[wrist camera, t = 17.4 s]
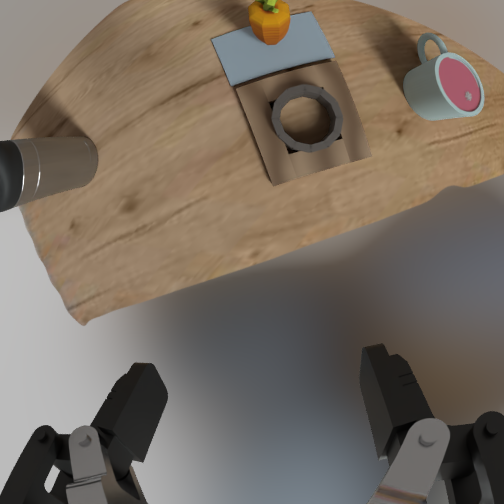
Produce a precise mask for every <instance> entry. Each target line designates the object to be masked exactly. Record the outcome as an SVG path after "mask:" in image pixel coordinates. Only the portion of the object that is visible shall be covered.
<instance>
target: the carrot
mask: <svg viewBox="0 0 504 504" xmlns="http://www.w3.org/2000/svg"><path fill="white" fill-rule="evenodd" d="M248 11H249V21H250V25H251V28H252V30H253V33H254V34H255V35H256V37H257V38H258V39H259V40H261V41H262V42H264V43H265V44H266V45H276V44H277V43H278V42H280V41H281V40H282V39H283V38H284V37H285V35H286V34H287V32H288V29H289V25H290V19H291V18H290V11H289V5H288V4H287V3H285V2H283V1H282V0H255V2H253V3H252V4H251V5H250V6H249V7H248Z"/></svg>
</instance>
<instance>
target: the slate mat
mask: <svg viewBox="0 0 504 504" xmlns="http://www.w3.org/2000/svg"><path fill="white" fill-rule="evenodd" d="M290 18H291V19H290V25H289V29H288V32H287V34H286V35H285V37H284V38H283V39H282V40H281V41H280V42H278V43H277V44H276V45H266V44H265V43H264V42H262V41H261V40H259V39H258V38H257V37H256V35H255V34H254V33H253V30H252V28H251V26H248V27H245V28H242V29H239V30H236V31H233V32H230V33H227V34H224V35H222V36H219V37H216V38H214V39H211V40H212V42H213V45H214V47H215V49H216V52H217V54H218V56H219V58H220V61H221V63H222V65H223V68H224V70H225V73H226V75H227V77H228V80H229V82H230V85H231V87H232V86H234V85H237V84H240V83H243V82H245V81H248V80H251V79H254V78H257V77H260V76H264V75H267V74H270V73H273V72H277V71H280V70H284V69H287V68H291V67H295V66H299V65H303V64H307V63H311V62H315V61H320V60H325V59H330V58H335V56H334V53H333V51H332V49H331V47H330V45H329V43H328V41H327V39H326V38H325V36H324V34H323V32H322V30H321V28H320V26H319V24H318V23H317V21H316V19H315V17H314V16H313V14H312V12H306V13H301V14H296V15H291V16H290Z"/></svg>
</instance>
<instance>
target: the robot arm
mask: <svg viewBox="0 0 504 504" xmlns="http://www.w3.org/2000/svg"><path fill="white" fill-rule="evenodd" d="M97 165H98V155H97V150H96V148H95V145H94V144H93V142H92V141H91V140H90V139H88V138H86V137H81V136H76V137H43V138H28V139H18V140H7V141H0V212H3V211H6V210H9V209H11V208H14V207H17V206H20V205H23V204H26V203H28V202H31V201H34V200H37V199H41V198H44V197H47V196H50V195H54V194H57V193H61V192H64V191H68V190H72V189H75V188H79V187H83V186H85V185H87V184H88V183H89V182H90V181H91V180H92V178H93V177H94V175H95V173H96V169H97ZM359 379H360V388H361V392H362V396H363V400H364V403H365V407H366V411H367V414H368V418H369V422H370V426H371V430H372V434H373V438H374V443H375V447H376V451H377V455H378V460H383V459H387V458H388V463H389V469H388V470H387V472H386V474H385V475H384V477H383V479H382V481H381V482H380V484H379V486H378V487H377V489H376V490H375V492H374V494H373V495H372V497H371V498H370V500H369V501H368V503H367V504H427V502H426V498H427V495H428V493H429V491H430V489H431V487H432V484H433V482H434V481H440V480H444V481H445V485H446V490H447V495H448V500H449V504H504V416H503V415H502V414H501V413H498V412H494V411H493V412H492V411H490V412H486V413H484V414H483V415H481V416H480V417H479V418H478V419H477V421H476V422H475V423H473V424H465V425H457V426H450V425H446V424H445V423H444V422H442V421H440V420H438V419H435V417H434V416H433V414H432V412H431V410H430V408H429V406H428V404H427V401H426V399H425V397H424V395H423V393H422V390H421V388H420V386H419V384H418V383H417V380H416V378H415V376H414V375H413V372H412V370H411V368H410V366H409V364H408V362H407V361H406V360H404V359H403V358H402V357H401V356H400V355H398V354H395V355H391V356H389V354H388V352H387V350H386V348H385V346H384V345H383V344H382V343H381V344H377V345H372V346H367V347H363V348H362V355H361V366H360V377H359ZM167 400H168V393H167V389H166V387H165V385H164V383H163V381H162V379H161V377H160V375H159V373H158V371H157V370H156V368H155V366H154V365H153V364H152V363H134V364H133V365H132V366H131V368H130V370H129V371H128V373H127V374H124V375H123V376H122V377H121V378H120V379H119V380H117V381H116V383H115V385H114V386H113V388H112V389H111V392H110V393H109V394H108V396H107V399H105V401H104V403H103V405H102V406H101V408H100V410H99V411H98V413H97V415H96V416H95V418H94V420H93V422H92V423H91V425H90V426H81V427H79V428H77V429H75V430H74V431H73V432H72V434H58V433H57V432H56V431H55V430H54V429H53V428H52V427H51V426H48V425H43V426H41V427H39V428H37V429H36V430H35V431H34V433H33V434H32V436H31V438H30V440H29V441H28V443H27V445H26V446H25V448H24V450H23V452H22V453H21V455H20V457H19V459H18V461H17V463H16V465H15V467H14V468H13V470H12V472H11V474H10V476H9V478H8V480H7V482H6V484H5V486H4V489H3V490H2V493H1V495H0V504H148V503H147V501H146V499H145V497H144V495H143V492H142V490H141V487H140V485H139V482H138V480H137V477H136V475H135V472H134V469H133V467H132V466H131V463H132V460H134V461H139V462H144V459H145V457H146V454H147V451H148V448H149V446H150V444H151V441H152V438H153V436H154V433H155V431H156V428H157V426H158V423H159V420H160V418H161V416H162V413H163V411H164V408H165V406H166V403H167ZM53 465H54V466H55V467H57V468H58V469H59V470H60V472H59V474H58V477H57V479H56V481H55V484H54V486H53V488H52V490H51V492H50V493H48V492H47V491H46V490H45V487H44V483H45V481H46V478H47V476H48V474H49V472H50V470H51V468H52V466H53Z"/></svg>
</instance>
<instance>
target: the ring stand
mask: <svg viewBox="0 0 504 504" xmlns="http://www.w3.org/2000/svg"><path fill="white" fill-rule="evenodd" d="M236 91H237V93H238V96H239V98H240V101H241V103H242V106H243V108H244V111H245V113H246V116H247V118H248V121H249V123H250V126H251V128H252V131H253V134H254V136H255V139H256V141H257V144H258V147H259V149H260V152H261V155H262V157H263V160H264V163H265V165H266V168H267V171H268V174H269V176H270V179H271V182H272V185H273V186H276V185H279V184H282V183H285V182H288V181H291V180H294V179H297V178H300V177H304V176H307V175H310V174H313V173H317V172H320V171H323V170H326V169H330V168H333V167H337V166H340V165H343V164H347V163H350V162H354V161H358V160H361V159H365V158H368V157H372V154H371V151H370V148H369V144H368V141H367V138H366V135H365V132H364V129H363V126H362V123H361V120H360V118H359V115H358V112H357V109H356V107H355V104H354V101H353V99H352V96H351V94H350V91H349V89H348V86H347V84H346V82H345V79H344V77H343V75H342V72H341V70H340V68H339V66H338V63H337V61H332V62H327V63H322V64H317V65H313V66H309V67H305V68H301V69H297V70H293V71H289V72H286V73H282V74H279V75H275V76H272V77H269V78H265V79H262V80H259V81H256V82H253V83H250V84H247V85H244V86H242V87H239V88H236ZM302 96H303V97H307V98H312V99H316V100H317V101H318V102H320V103H321V104H322V105H323V106H324V107H325V108H326V109H327V112H328V114H329V117H330V120H331V122H330V128H329V133H328V134H327V135H326V136H325V137H324V138H323V139H322V141H321V142H319V143H315V144H312V145H309V144H304V143H300V142H296V141H295V140H293V139H292V138H291V137H290V136H289V135H288V134H286V133H285V132H284V129H283V127H282V124H281V121H280V113H281V109H282V108H283V107H284V106H285V105H286V104H287V103H288V102H289V101H290V100H292V99H295V98H299V97H302ZM273 102H274V107H273V112H272V109H271V107H270V103H273ZM338 137H340V140H336V139H337V138H338ZM335 140H336V141H335ZM285 145H286V146H288V147H289V148H290V149H291V148H292V150H297V151H299V152H295V153H292V154H288V151H287V148H286V146H285Z"/></svg>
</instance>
